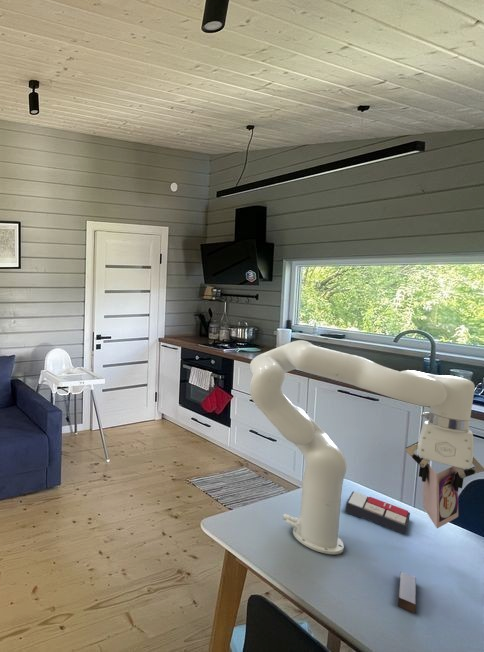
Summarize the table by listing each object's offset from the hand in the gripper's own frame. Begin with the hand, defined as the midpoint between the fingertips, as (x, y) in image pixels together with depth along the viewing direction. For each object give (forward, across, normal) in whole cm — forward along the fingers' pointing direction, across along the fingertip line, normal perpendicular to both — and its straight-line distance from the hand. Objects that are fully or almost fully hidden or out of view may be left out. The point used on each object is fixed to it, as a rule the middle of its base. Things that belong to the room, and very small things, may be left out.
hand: (439, 483), depth 110 cm
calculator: (+25, -12, +20) cm, 34 cm away
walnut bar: (+25, -4, -18) cm, 31 cm away
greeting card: (+10, 0, 0) cm, 10 cm away
